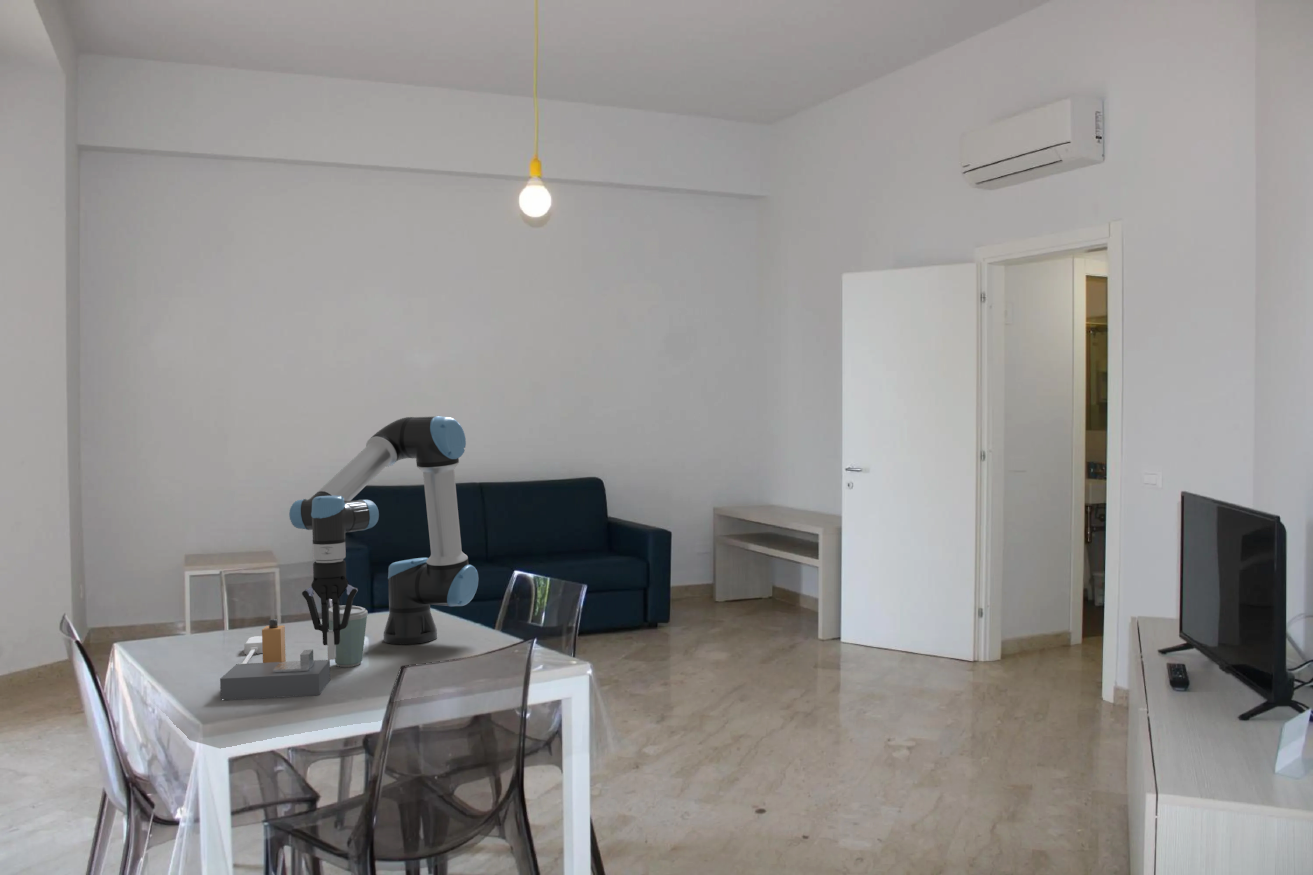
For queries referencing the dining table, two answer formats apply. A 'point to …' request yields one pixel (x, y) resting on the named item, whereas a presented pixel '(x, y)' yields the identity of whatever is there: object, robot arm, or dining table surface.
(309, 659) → the shutter
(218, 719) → the dining table surface
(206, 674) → the dining table surface
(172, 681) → the dining table surface
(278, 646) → the plug
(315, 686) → the socket box
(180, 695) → the dining table surface
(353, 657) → the disposable coffee cup
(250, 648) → the charging cable
